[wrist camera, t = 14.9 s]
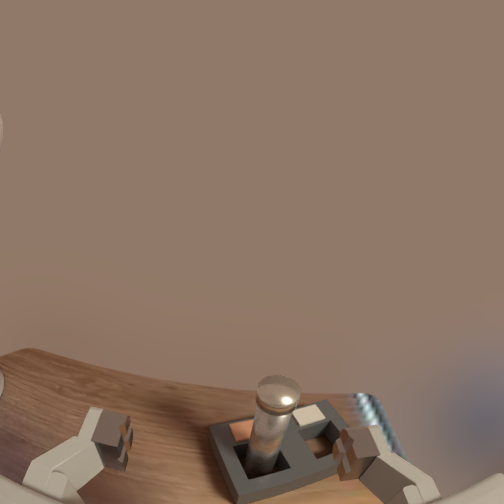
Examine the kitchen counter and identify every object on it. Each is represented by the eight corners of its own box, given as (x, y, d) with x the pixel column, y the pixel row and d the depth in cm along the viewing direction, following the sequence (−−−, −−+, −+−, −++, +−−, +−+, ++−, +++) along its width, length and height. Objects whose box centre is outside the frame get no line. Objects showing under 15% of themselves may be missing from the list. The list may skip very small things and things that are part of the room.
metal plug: (247, 486, 26) (268, 407, 22) (236, 462, 29) (251, 379, 25) (277, 478, 27) (308, 398, 23) (265, 455, 30) (289, 372, 26)
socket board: (236, 506, 23) (239, 494, 22) (208, 439, 32) (209, 424, 31) (360, 462, 29) (369, 448, 28) (320, 413, 38) (327, 397, 37)
